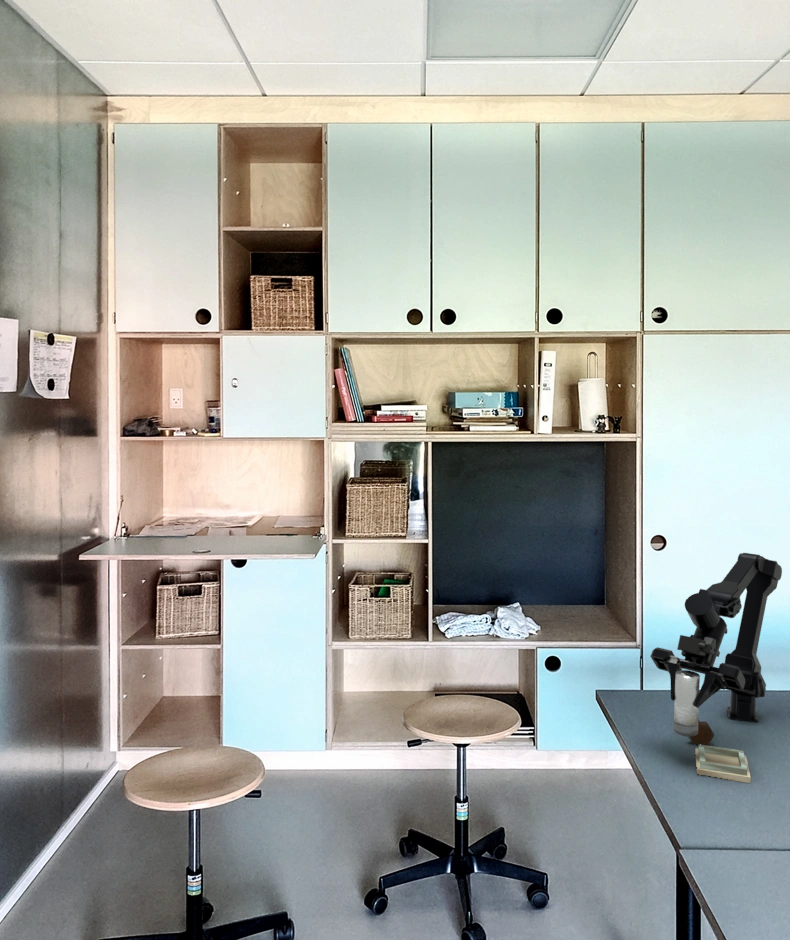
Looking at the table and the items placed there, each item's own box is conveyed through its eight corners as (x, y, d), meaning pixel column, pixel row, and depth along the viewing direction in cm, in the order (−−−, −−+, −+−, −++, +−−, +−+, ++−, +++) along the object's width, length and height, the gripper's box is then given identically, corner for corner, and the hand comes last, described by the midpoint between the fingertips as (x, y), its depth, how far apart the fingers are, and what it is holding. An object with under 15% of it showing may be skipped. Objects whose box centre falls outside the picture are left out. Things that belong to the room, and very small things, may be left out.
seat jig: (695, 753, 164) (695, 742, 164) (745, 760, 160) (746, 750, 160) (696, 774, 154) (697, 763, 154) (750, 783, 151) (750, 771, 151)
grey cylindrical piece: (672, 725, 163) (674, 669, 162) (696, 727, 162) (698, 671, 160) (674, 734, 158) (676, 677, 157) (699, 737, 157) (701, 679, 156)
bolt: (684, 725, 183) (704, 751, 168) (666, 714, 183) (684, 740, 168) (697, 705, 182) (718, 730, 167) (679, 694, 182) (698, 718, 167)
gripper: (655, 611, 167) (630, 673, 160) (742, 629, 154) (719, 697, 147) (670, 637, 173) (646, 697, 166) (754, 657, 160) (733, 723, 153)
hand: (684, 703), depth 158 cm, fingers closed on grey cylindrical piece, 5 cm apart
